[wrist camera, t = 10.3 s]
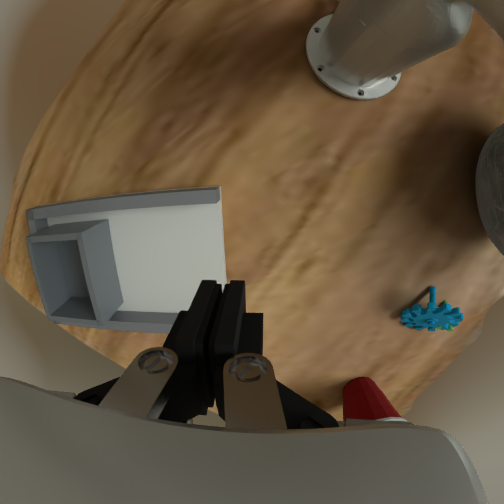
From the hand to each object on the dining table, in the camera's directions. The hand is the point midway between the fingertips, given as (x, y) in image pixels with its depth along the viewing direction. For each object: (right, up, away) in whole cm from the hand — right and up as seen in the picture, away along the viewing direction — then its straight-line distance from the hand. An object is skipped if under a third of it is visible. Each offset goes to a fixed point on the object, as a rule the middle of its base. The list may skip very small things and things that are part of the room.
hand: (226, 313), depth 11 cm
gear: (+28, -6, +28) cm, 39 cm away
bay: (-16, +1, +26) cm, 31 cm away
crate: (-23, +1, +25) cm, 34 cm away
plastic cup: (+19, -21, +33) cm, 44 cm away
